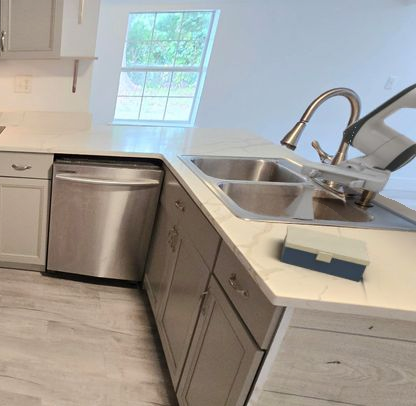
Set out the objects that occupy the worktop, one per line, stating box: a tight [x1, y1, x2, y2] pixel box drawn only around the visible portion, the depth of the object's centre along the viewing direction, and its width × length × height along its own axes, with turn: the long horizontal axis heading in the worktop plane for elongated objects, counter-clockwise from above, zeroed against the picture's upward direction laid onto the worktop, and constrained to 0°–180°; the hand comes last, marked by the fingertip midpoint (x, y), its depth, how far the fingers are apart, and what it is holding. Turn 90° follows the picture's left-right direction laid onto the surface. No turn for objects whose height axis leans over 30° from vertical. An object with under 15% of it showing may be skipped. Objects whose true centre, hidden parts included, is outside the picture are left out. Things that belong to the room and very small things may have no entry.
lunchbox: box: [280, 224, 371, 283], centre depth 89 cm, size 14×12×6 cm
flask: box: [284, 183, 317, 220], centre depth 111 cm, size 7×7×10 cm
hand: (329, 180), depth 114 cm, fingers open, 8 cm apart
